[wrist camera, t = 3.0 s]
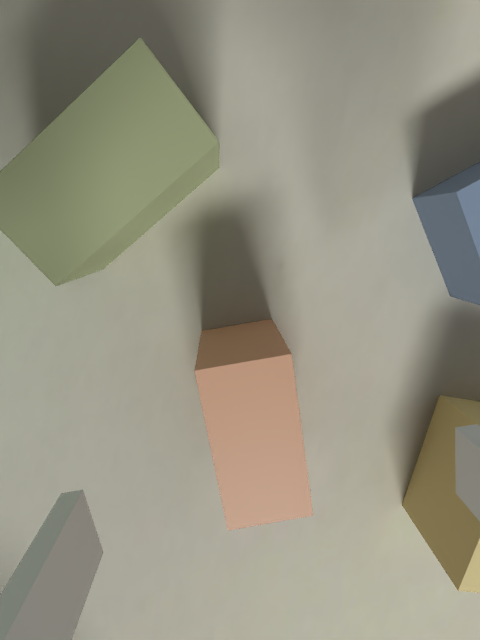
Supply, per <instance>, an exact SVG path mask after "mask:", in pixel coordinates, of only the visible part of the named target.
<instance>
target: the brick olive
mask: <svg viewBox="0 0 480 640" xmlns="http://www.w3.org/2000/svg"><path fill="white" fill-rule="evenodd" d="M218 168H219V141H218V139H217V138H216V137H215V135H214V134H213V133H212V131H211V130H210V129H209V127H208V126H207V125H206V123H205V122H204V121H203V119H202V118H201V117H200V115H199V114H198V113H197V112H196V110H195V109H194V108H193V106H192V105H191V104H190V102H189V101H188V100H187V98H186V97H185V96H184V94H183V93H182V92H181V90H180V89H179V88H178V86H177V85H176V84H175V82H174V81H173V80H172V79H171V77H170V76H169V75H168V73H167V72H166V71H165V69H164V68H163V67H162V65H161V64H160V63H159V61H158V60H157V59H156V57H155V56H154V55H153V53H152V52H151V51H150V49H149V48H148V47H147V46H146V44H145V43H144V42H143V40H142V39H141V38H139V39H138V40H137V41H136V42H135V43H134V44H133V45H132V46H131V47H130V48H129V49H127V50H126V51H125V52H124V53H123V54H122V55H121V56H120V57H119V58H118V59H117V60H116V61H115V62H114V63H113V64H112V65H111V66H110V67H109V68H108V69H107V70H106V71H105V72H103V73H102V74H101V75H100V76H99V77H98V78H97V79H96V80H95V81H94V82H93V83H92V84H91V85H90V86H89V87H88V88H87V89H86V90H85V91H84V92H83V93H82V94H81V95H80V96H78V97H77V98H76V99H75V100H74V101H73V102H72V103H71V104H70V105H69V106H68V107H67V108H66V109H65V110H64V111H63V112H62V113H61V114H60V115H59V116H58V117H57V118H56V119H54V120H53V121H52V122H51V123H50V124H49V125H48V126H47V127H46V128H45V129H44V130H43V131H42V132H41V133H40V134H39V135H38V136H37V137H36V138H35V139H34V140H33V141H32V142H31V143H29V144H28V145H27V146H26V147H25V148H24V149H23V150H22V151H21V152H20V153H19V154H18V155H17V156H16V157H15V158H14V159H13V160H12V161H11V162H10V163H9V164H8V165H7V166H5V167H4V168H3V169H2V170H1V171H0V230H1V231H2V232H3V233H4V234H5V235H6V236H7V237H8V238H9V239H10V240H11V241H12V242H13V243H14V244H15V245H16V246H17V247H18V248H19V249H20V250H21V251H22V252H23V253H24V254H25V255H26V256H27V257H28V258H29V259H30V260H31V261H32V262H33V263H34V264H35V266H36V267H37V268H38V269H39V270H40V271H41V272H42V273H43V274H44V275H45V276H46V277H47V278H48V279H49V280H50V281H51V282H52V283H53V284H54V285H55V286H58V285H61V284H64V283H66V282H69V281H72V280H75V279H77V278H80V277H83V276H86V275H88V274H91V273H94V272H96V271H99V270H102V269H104V268H105V267H106V266H108V265H109V264H110V263H111V262H112V261H113V260H114V259H116V258H117V257H118V256H119V255H120V254H121V253H122V252H124V251H125V250H126V249H127V248H128V247H129V246H130V245H132V244H133V243H134V242H135V241H136V240H137V239H138V238H140V237H141V236H142V235H143V234H144V233H145V232H146V231H148V230H149V229H150V228H151V227H152V226H153V225H154V224H156V223H157V222H158V221H159V220H160V219H161V218H162V217H164V216H165V215H166V214H167V213H168V212H169V211H170V210H172V209H173V208H174V207H175V206H176V205H177V204H178V203H180V202H181V201H182V200H183V199H184V198H185V197H186V196H188V195H189V194H190V193H191V192H192V191H193V190H194V189H196V188H197V187H198V186H199V185H200V184H201V183H202V182H204V181H205V180H206V179H207V178H208V177H209V176H210V175H212V174H213V173H214V172H215V171H216V170H217V169H218Z"/></svg>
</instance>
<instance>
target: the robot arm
mask: <svg viewBox="0 0 480 640" xmlns="http://www.w3.org/2000/svg"><path fill="white" fill-rule="evenodd" d="M455 472H456V494H457V495H458V497H459V498H460V499H461V500H462V501H463V502H464V504H465V505H466V506H467V507H468V508H469V509H470V511H471V512H472V513H473V514H474V515H475V517H476V518H477V519H478V520H479V521H480V426H479V425H478V424H473V425H467V426H461V427H455ZM102 554H103V550H102V547H101V544H100V541H99V538H98V534H97V531H96V528H95V525H94V522H93V519H92V516H91V513H90V510H89V507H88V504H87V501H86V498H85V495H84V492H83V490H79V491H73V492H67V493H61V495H60V496H59V498H58V500H57V501H56V503H55V505H54V506H53V508H52V510H51V511H50V513H49V515H48V516H47V518H46V520H45V522H44V523H43V525H42V527H41V528H40V530H39V532H38V533H37V535H36V537H35V538H34V540H33V542H32V543H31V545H30V547H29V548H28V550H27V552H26V553H25V555H24V557H23V558H22V560H21V562H20V563H19V565H18V567H17V568H16V570H15V572H14V573H13V575H12V577H11V578H10V580H9V582H8V583H7V585H6V587H5V588H4V590H3V592H2V594H1V595H0V640H72V637H73V634H74V631H75V629H76V626H77V623H78V620H79V618H80V615H81V612H82V609H83V607H84V604H85V601H86V598H87V596H88V593H89V590H90V587H91V585H92V582H93V579H94V576H95V574H96V571H97V568H98V565H99V563H100V560H101V557H102Z"/></svg>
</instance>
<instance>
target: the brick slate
mask: <svg viewBox="0 0 480 640" xmlns="http://www.w3.org/2000/svg"><path fill="white" fill-rule="evenodd" d="M412 199H413V202H414V204H415V207H416V210H417V212H418V215H419V217H420V220H421V222H422V225H423V228H424V230H425V233H426V235H427V238H428V240H429V243H430V246H431V248H432V251H433V253H434V256H435V258H436V261H437V263H438V266H439V269H440V271H441V274H442V276H443V279H444V281H445V284H446V287H447V289H448V292H449V294H450V296H451V297H455V298H458V299H461V300H465V301H468V302H471V303H475V304H478V305H480V162H478V163H477V164H475V165H473V166H471V167H469V168H467V169H466V170H464V171H462V172H460V173H458V174H456V175H454V176H453V177H451V178H449V179H447V180H445V181H443V182H442V183H440V184H438V185H436V186H434V187H432V188H431V189H429V190H427V191H425V192H423V193H421V194H419V195H418V196H416V197H414V198H412Z"/></svg>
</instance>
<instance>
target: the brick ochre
mask: <svg viewBox="0 0 480 640" xmlns="http://www.w3.org/2000/svg"><path fill="white" fill-rule="evenodd" d="M473 424H478V425H479V426H480V401H473V400H467V399H461V398H455V397H448V396H442V395H440V396H439V399H438V402H437V404H436V407H435V410H434V413H433V416H432V419H431V422H430V425H429V428H428V431H427V434H426V436H425V439H424V442H423V445H422V448H421V451H420V454H419V457H418V460H417V463H416V466H415V468H414V471H413V474H412V477H411V480H410V483H409V486H408V489H407V492H406V495H405V498H404V500H403V503H402V506H403V507H404V509H405V510H406V512H407V513H408V515H409V516H410V518H411V520H412V521H413V523H414V524H415V526H416V527H417V529H418V530H419V532H420V533H421V535H422V536H423V538H424V539H425V541H426V542H427V544H428V545H429V547H430V548H431V550H432V551H433V553H434V555H435V556H436V558H437V559H438V561H439V562H440V564H441V565H442V567H443V568H444V570H445V571H446V573H447V574H448V576H449V577H450V579H451V580H452V582H453V583H454V585H455V587H456V588H457V590H458V591H467V592H477V593H480V521H479V520H478V519H477V518H476V517H475V515H474V514H473V513H472V512H471V511H470V509H469V508H468V507H467V506H466V505H465V504H464V502H463V501H462V500H461V499H460V498H459V497H458V495H457V494H456V472H455V427H461V426H467V425H473Z"/></svg>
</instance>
